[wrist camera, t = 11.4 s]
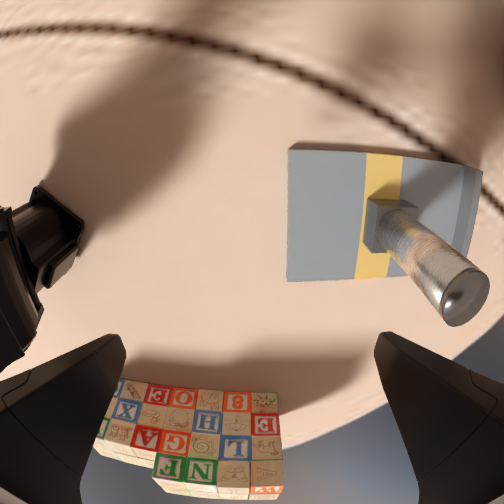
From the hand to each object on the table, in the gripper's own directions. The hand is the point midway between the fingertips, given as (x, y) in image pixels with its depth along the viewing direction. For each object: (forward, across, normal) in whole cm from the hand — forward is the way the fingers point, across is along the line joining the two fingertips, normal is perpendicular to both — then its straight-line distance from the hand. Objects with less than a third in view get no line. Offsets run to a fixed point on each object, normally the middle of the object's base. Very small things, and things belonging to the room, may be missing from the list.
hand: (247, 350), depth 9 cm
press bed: (+13, +11, 0) cm, 17 cm away
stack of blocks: (+13, -8, -23) cm, 28 cm away
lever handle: (+13, +10, 0) cm, 17 cm away
